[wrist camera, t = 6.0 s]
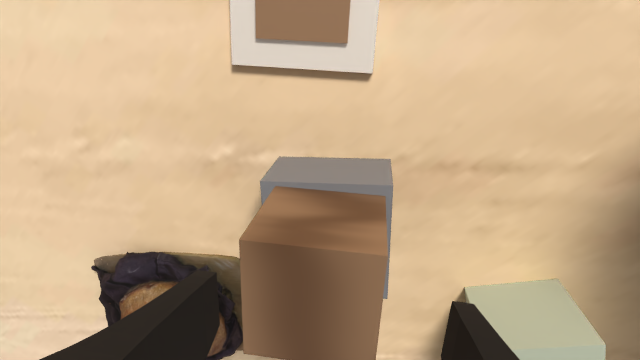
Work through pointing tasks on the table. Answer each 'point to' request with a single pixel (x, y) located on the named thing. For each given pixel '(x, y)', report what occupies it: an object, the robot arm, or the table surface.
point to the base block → (335, 180)
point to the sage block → (538, 320)
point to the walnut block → (314, 275)
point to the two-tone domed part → (159, 276)
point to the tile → (305, 34)
